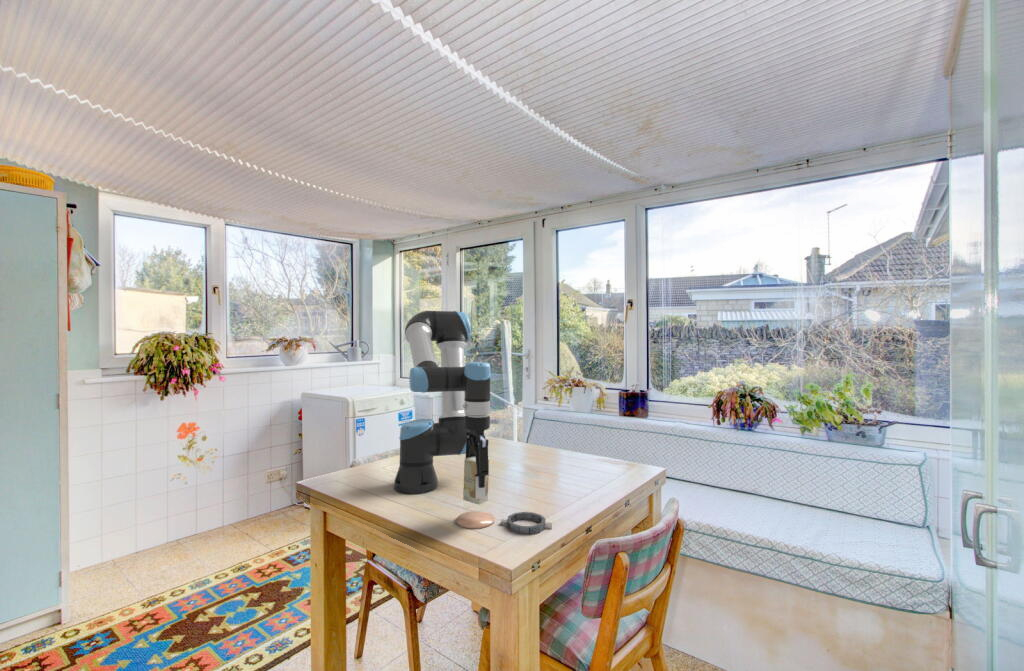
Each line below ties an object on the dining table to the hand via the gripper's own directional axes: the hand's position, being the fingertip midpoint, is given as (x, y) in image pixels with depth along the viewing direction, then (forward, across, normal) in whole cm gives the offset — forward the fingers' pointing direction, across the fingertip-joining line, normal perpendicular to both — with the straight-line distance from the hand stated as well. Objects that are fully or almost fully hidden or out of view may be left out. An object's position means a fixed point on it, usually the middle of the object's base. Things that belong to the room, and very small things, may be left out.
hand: (476, 493), depth 132 cm
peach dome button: (+8, 0, 0) cm, 8 cm away
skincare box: (+2, 0, 0) cm, 2 cm away
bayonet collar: (+8, +8, +12) cm, 17 cm away
